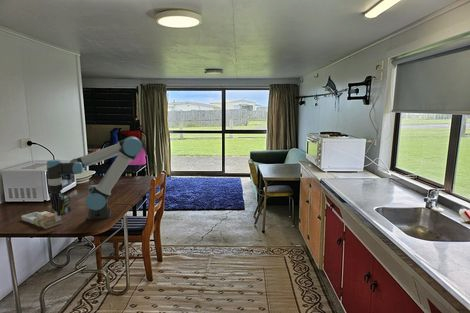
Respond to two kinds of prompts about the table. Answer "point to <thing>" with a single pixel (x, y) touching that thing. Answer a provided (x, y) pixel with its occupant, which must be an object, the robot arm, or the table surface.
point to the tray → (30, 217)
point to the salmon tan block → (49, 217)
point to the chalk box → (65, 205)
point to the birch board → (46, 223)
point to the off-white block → (42, 214)
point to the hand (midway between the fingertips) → (58, 220)
